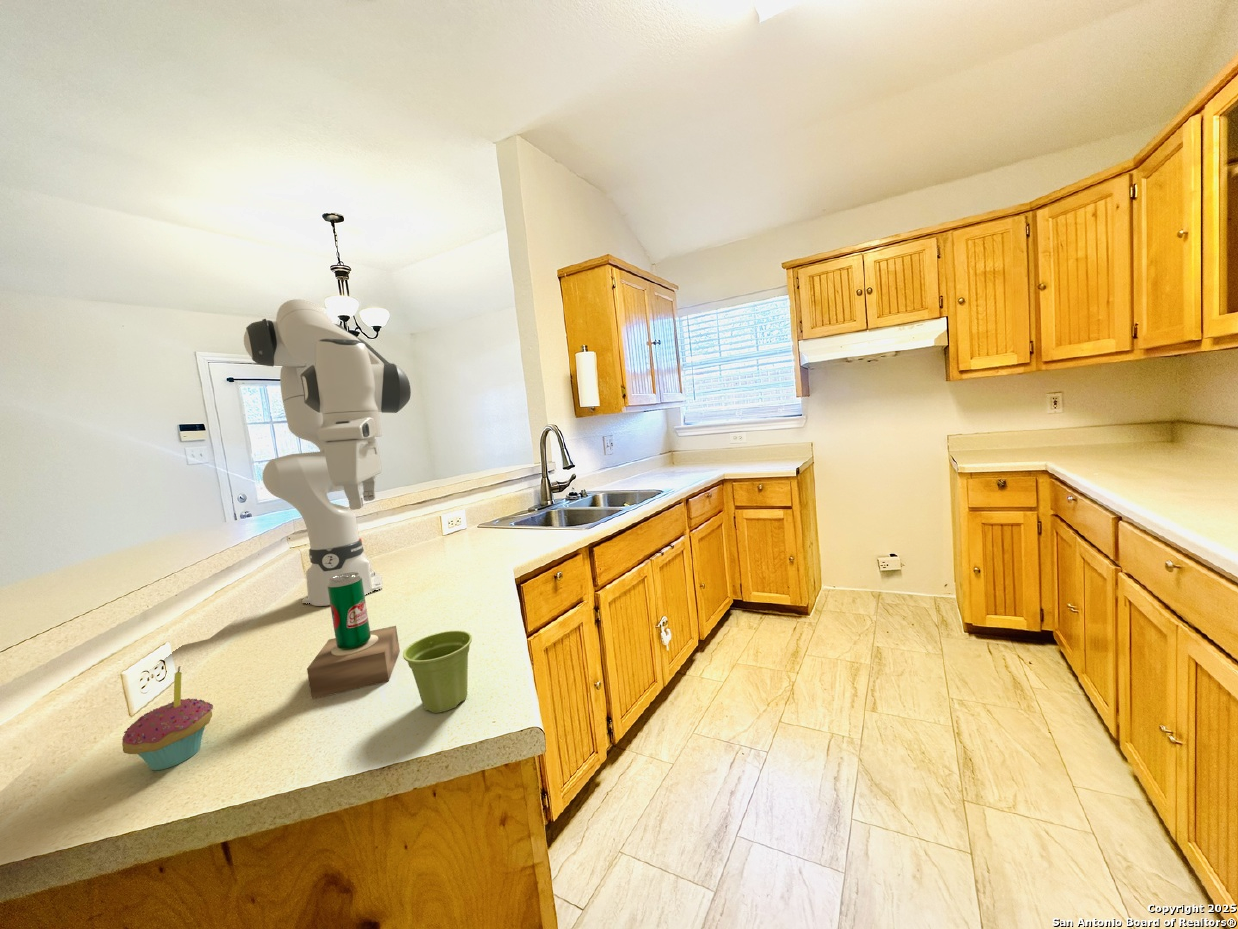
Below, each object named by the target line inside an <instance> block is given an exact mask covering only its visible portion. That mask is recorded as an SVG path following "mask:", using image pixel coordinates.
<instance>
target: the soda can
mask: <svg viewBox="0 0 1238 929" xmlns="http://www.w3.org/2000/svg"><path fill="white" fill-rule="evenodd" d="M329 581H330V582H329V584H328V594H329V600H330V605H329V606H330V611H331V612H330V613H331V618H332V623H333V625H332V626H333V631H334V636H335V638H336V644H337V647H338V648H339V649H341V650H352V649H355V648H358V647H361V646H363V645H365V644H366V643H367V642H368V641H369V639H370V637H371V634H370V631H371V629H370V622H369V615H368V608H367V603H366V602H367V601H366V597H365V596H366V595H365V594H364V588H363V581H362V578H361V577H360V576H359V573H357V572H351V573H345V574H340V575H337V576H334V577H332V578H330V579H329Z"/></svg>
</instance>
